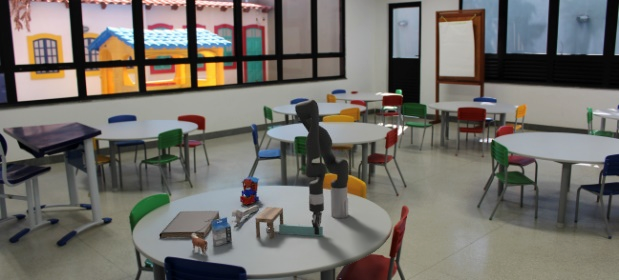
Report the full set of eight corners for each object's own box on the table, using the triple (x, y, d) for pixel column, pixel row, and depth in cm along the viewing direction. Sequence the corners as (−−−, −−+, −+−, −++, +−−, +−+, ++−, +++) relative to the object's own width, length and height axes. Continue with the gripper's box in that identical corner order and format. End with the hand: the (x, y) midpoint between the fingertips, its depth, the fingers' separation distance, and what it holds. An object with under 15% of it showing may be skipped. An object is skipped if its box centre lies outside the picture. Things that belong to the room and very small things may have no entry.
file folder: (204, 231, 275) (158, 231, 276) (205, 238, 275) (159, 239, 277) (219, 210, 307) (178, 210, 309) (219, 216, 308) (179, 217, 309)
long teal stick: (322, 235, 274) (322, 226, 274) (322, 236, 273) (321, 227, 272) (280, 232, 280) (279, 224, 279) (279, 233, 279) (279, 225, 278)
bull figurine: (196, 246, 264) (194, 231, 263) (210, 254, 254) (209, 238, 253) (188, 249, 262) (186, 233, 260) (202, 257, 252) (200, 240, 250)
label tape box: (216, 246, 263) (214, 223, 261) (212, 244, 267) (211, 220, 264) (232, 242, 268) (230, 219, 266) (228, 239, 272) (226, 216, 269)
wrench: (258, 214, 318) (234, 225, 290) (255, 214, 318) (231, 225, 290) (258, 201, 317) (234, 211, 289) (255, 200, 318) (231, 211, 290)
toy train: (260, 198, 339) (259, 175, 336) (254, 206, 323) (253, 182, 320) (244, 198, 340) (243, 175, 337) (238, 206, 325) (236, 182, 322)
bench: (283, 226, 288) (282, 207, 286) (273, 238, 271) (272, 219, 269) (267, 225, 290) (266, 206, 288) (256, 237, 273) (255, 218, 271)
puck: (275, 230, 282) (275, 227, 282) (273, 234, 278) (272, 230, 278) (267, 230, 284) (267, 226, 283) (265, 233, 279) (264, 229, 279)
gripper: (312, 197, 278) (313, 228, 282) (305, 205, 265) (306, 238, 269) (326, 197, 276) (327, 229, 280) (320, 206, 263) (321, 239, 267)
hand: (317, 233), depth 274 cm, fingers closed
